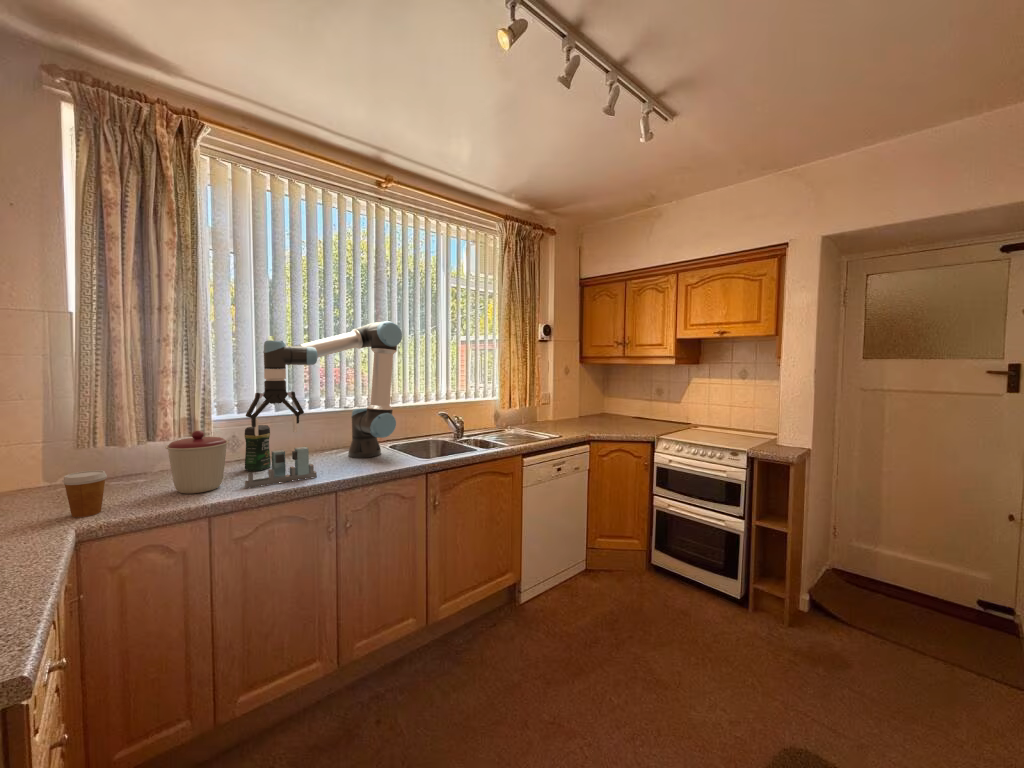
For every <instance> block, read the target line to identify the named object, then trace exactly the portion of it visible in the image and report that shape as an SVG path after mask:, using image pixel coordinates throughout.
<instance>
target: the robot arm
mask: <svg viewBox="0 0 1024 768" xmlns="http://www.w3.org/2000/svg"><path fill="white" fill-rule="evenodd" d="M402 339H403V332H402V329H401V328H400V327H399V325H398V324H397V323H395V322H393V321H389V320H387V321H386V320H385V321H380V322H379V321H377V322H371V323H369V324H365V325H364V326H363V325H362V326H359V327H357V328H352V330H351V331H350V332H344V333H340V334H337V335H333V336H329V337H325V338H321V339H318V340H317V339H316V340H313V341H309V342H304V343H300V344H297V345H296V344H295V345H291V346H290V345H286V342H285V341H284V340H272V339H271V340H269V339H268V340H266V341H264V342H263V352H262V353H263V366H264V367H263V368H264V369H263V375H264V376H263V378H264V381H263V382H264V384H263V385H264V386H263V387H264V389H263V390H264V392H263V393H261V392H255V393H254V399H253V400H252V402H251V404H250V406H249V408H248V409H247V412H246V413H245V416H246V418H250V419H251V420H250V422H251V427H255V435H256V436H258V425H259V418H258V417H259V415H260V414H261V413H262V411H264V409H265V408H266V407H267V406H268V405H269V404H271V405H275V404H283V405H284V406H285V407H286V408H288V409H289V410H290V411H291V413H292V414H293V415H292V432H294V433H297V432H298V431H297V428H298V427H297V424H300V416H301V415H303V414H304V413H305V411H304V409H303V407H302V405H301V404H300V403H299V400H298V399H297V397H296V393H295V392H296V391H289V392H287V381H286V380H285V379H287V370H286V367H287V366H293V365H295V366H313V365H316V364H317V362H318V358H322V357H325V356H329V355H333V354H337V353H340V352H345V351H348V350H352V349H355V348H357V349H358V350H360V349H363V348H370V350H371V352H372V353H373V364H372V365H373V366H372V378H371V379H372V380H371V392H370V393H371V394H370V404H369V405H368V406H367V407H364V408H355V409H353V410H352V411H351V442H350V444H349V445H350V446H349V448H348V455H347V456H348V457H350V458H358V459H364V458H365V459H366V458H372V457H373V458H374V457H378V456H380V455H381V454H382V449H381V446H380V444H379V440H378V438H381V439H383V438H388V437H389V436H391V435H392V434H393V433H394V432H395V430H396V426H397V419H396V418H395V416H394V415H393V407H392V406H391V404H390V401H391V390H392V389H391V388H392V374H393V361H394V360H393V358H394V354H395V353H397V351H398V350H397V348H398V345H399V344H400V343H401V342H402ZM262 397H263V398H264V401H263V402H262V403H261V405H259V406H258V408H257V409H256V407H257V405H258V403H259V401H260V399H262ZM287 397H289V398H291V400H292V403H293V404H294V406H295V407H296V409H297V410H296V409H295V408H294V406H292V404H291V403H290V402H289V401H288V400H287V399H286V398H287ZM255 409H256V410H255ZM254 410H255V411H254Z"/></svg>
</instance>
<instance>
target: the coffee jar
mask: <svg viewBox="0 0 1024 768" xmlns="http://www.w3.org/2000/svg"><path fill="white" fill-rule="evenodd" d="M243 435H244V440H245V456H244V457H245V458H244V470H245V471H248V472H256V471H258V472H259V471H263V469H264V470H266V469H269V468H270V467H272V461H271V452H270V436H271V428H270V426H269V425H267V424H265V425H264V424H258V436H256V435H255V427H252V426H248V427H246V428H245V429H244V434H243Z"/></svg>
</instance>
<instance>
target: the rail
mask: <svg viewBox="0 0 1024 768" xmlns="http://www.w3.org/2000/svg"><path fill="white" fill-rule="evenodd" d="M309 450H310V449H309V447H306V446H301V447H300V446H299V447H294V450H292V453H291V457H292V460H294V466H289V474H286V475H283V476H276V477H274V470H272V468H271V469H268V477H264V478H263V477H262V478H257V479H254V472H253V471H248V472H247V480H244V488H245V489H250V488H249V487H252V488H256V487H255V486H259V487H262V486H261V485H265V486H268V485H267V484H271V485H274V484H273V483H278V484H280V483H279V482H284V483H287V482H286V481H291V482H293V481H292V480H297V481H299V480H298V479H303V480H306V479H305V478H310V479H312V478H311V477H316V478H317V477H318V474H317V473H318V472H317V471H315V465H314V464H312V463H309V462H310V461H309V459H310V457H309V455H310V454H309V453H310V452H309Z"/></svg>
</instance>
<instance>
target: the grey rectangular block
mask: <svg viewBox="0 0 1024 768" xmlns="http://www.w3.org/2000/svg"><path fill="white" fill-rule="evenodd" d="M271 469H272V470H274V477H276V476H283V475H287V474H286V473H287V472H286V451H285V450H284V449H277V450H271Z"/></svg>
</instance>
